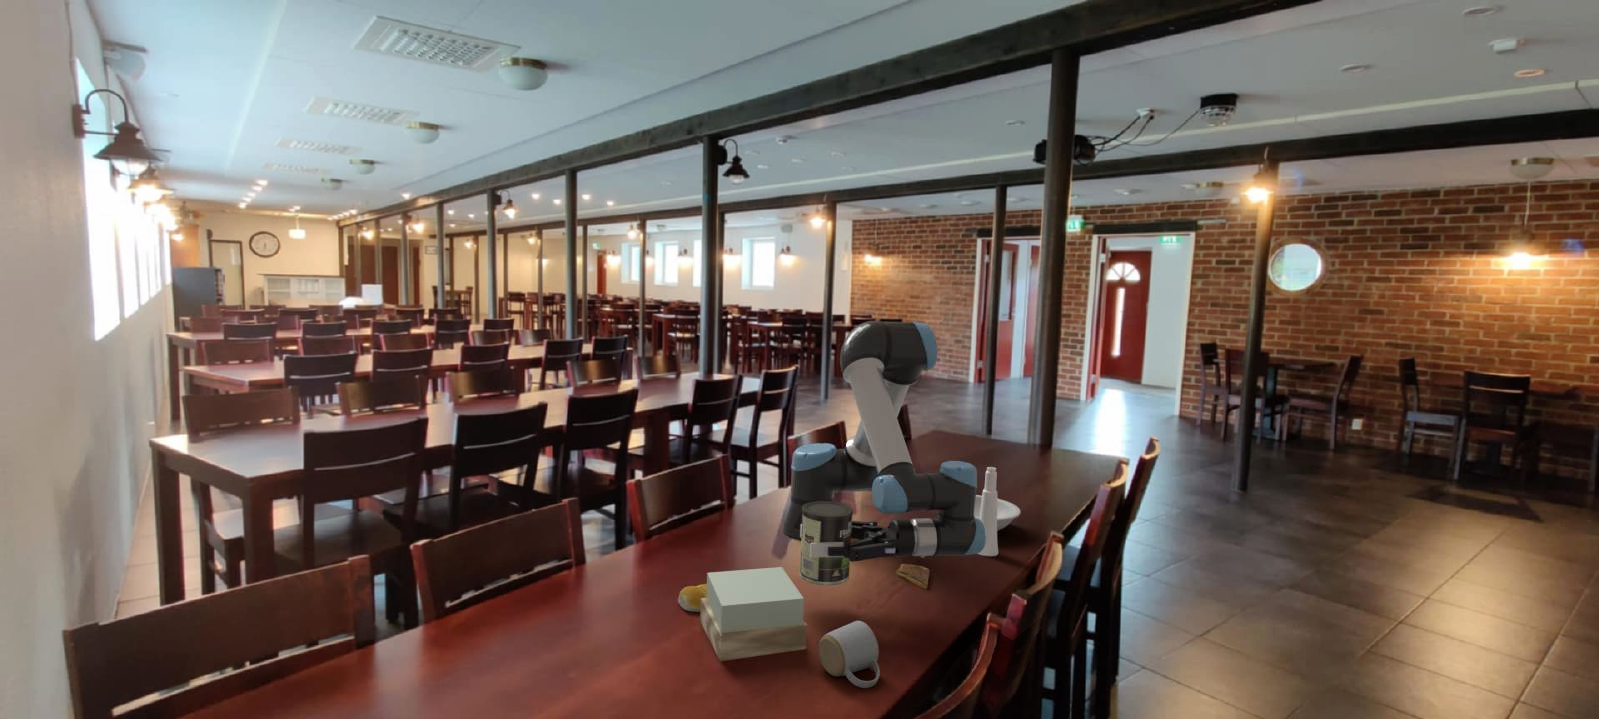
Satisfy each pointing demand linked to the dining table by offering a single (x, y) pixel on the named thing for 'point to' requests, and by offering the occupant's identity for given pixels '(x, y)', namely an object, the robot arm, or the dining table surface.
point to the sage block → (754, 599)
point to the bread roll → (692, 597)
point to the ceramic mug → (850, 652)
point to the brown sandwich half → (914, 574)
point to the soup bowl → (999, 511)
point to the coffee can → (825, 526)
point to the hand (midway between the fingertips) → (805, 540)
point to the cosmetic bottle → (989, 513)
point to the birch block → (751, 638)
